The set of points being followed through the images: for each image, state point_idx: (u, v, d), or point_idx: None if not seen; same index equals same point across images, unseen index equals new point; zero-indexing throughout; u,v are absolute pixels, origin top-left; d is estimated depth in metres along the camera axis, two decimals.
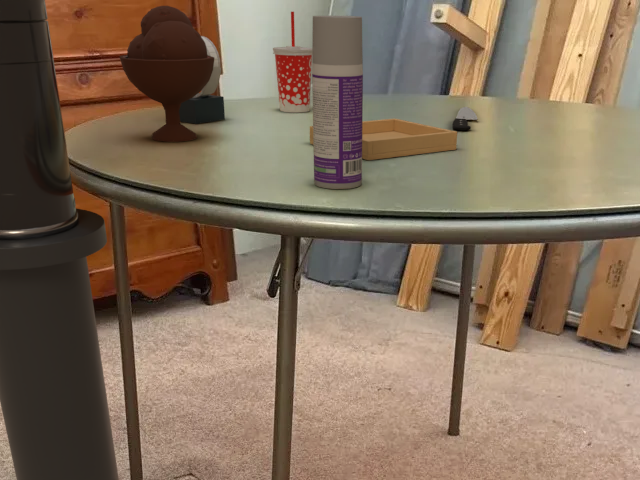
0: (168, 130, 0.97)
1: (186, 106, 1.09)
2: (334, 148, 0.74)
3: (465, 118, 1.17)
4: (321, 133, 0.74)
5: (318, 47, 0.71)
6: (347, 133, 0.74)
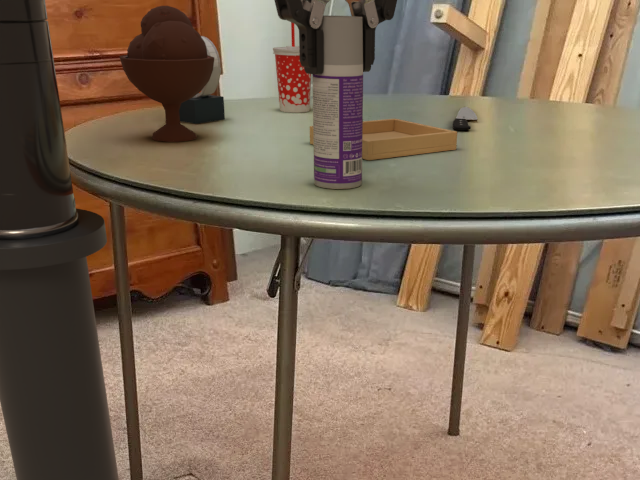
0: (168, 130, 0.97)
1: (186, 106, 1.09)
2: (334, 147, 0.74)
3: (465, 118, 1.17)
4: (321, 132, 0.74)
5: None
6: (348, 133, 0.74)
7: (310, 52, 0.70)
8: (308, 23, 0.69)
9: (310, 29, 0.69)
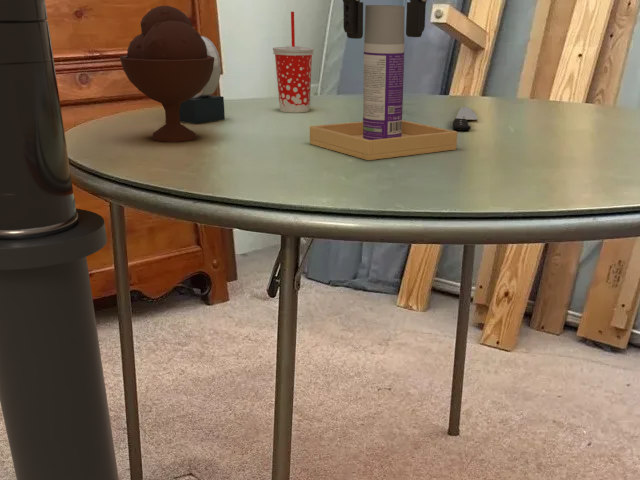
0: (168, 130, 0.97)
1: (186, 106, 1.09)
2: (380, 111, 0.92)
3: (465, 118, 1.17)
4: (371, 99, 0.92)
5: (370, 30, 0.89)
6: (392, 99, 0.92)
7: (352, 20, 0.87)
8: None
9: (353, 1, 0.86)
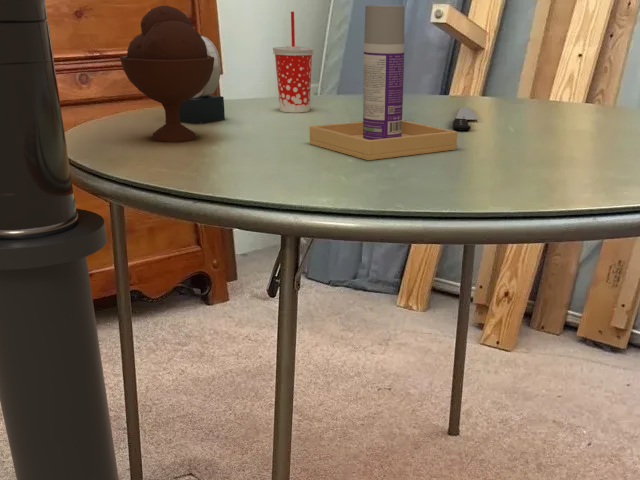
0: (168, 130, 0.97)
1: (186, 106, 1.09)
2: (380, 111, 0.92)
3: (465, 118, 1.17)
4: (371, 99, 0.92)
5: (370, 30, 0.89)
6: (392, 99, 0.92)
7: None
8: None
9: None
